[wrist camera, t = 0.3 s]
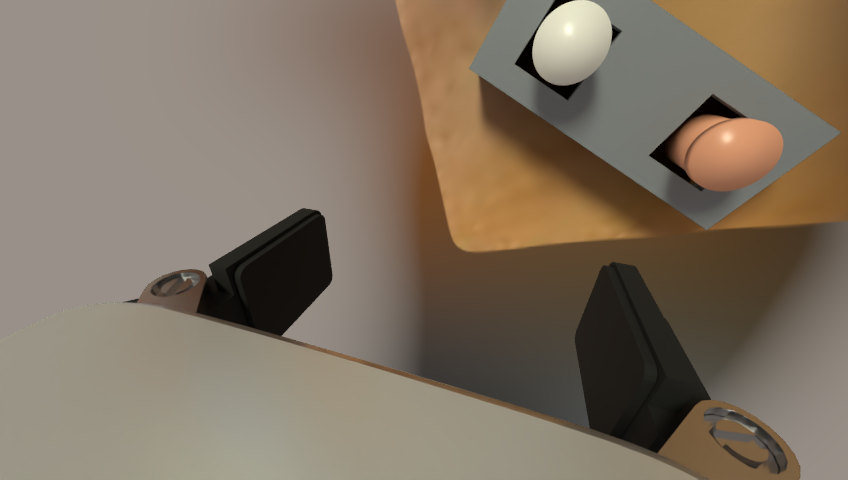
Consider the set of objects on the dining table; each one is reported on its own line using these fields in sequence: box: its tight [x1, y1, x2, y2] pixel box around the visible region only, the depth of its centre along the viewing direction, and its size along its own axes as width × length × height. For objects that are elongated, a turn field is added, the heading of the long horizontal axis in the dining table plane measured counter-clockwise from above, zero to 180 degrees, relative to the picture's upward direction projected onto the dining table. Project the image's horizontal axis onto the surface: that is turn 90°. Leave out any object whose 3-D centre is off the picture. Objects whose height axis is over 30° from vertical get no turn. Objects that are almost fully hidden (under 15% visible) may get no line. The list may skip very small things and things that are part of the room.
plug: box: [532, 0, 612, 85], centre depth 24 cm, size 5×5×6 cm
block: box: [469, 0, 841, 230], centre depth 27 cm, size 10×26×6 cm, turn 60°
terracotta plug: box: [665, 114, 783, 192], centre depth 24 cm, size 5×5×6 cm
